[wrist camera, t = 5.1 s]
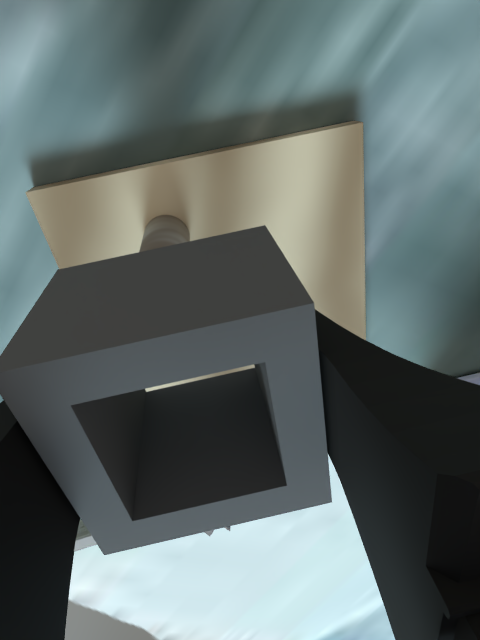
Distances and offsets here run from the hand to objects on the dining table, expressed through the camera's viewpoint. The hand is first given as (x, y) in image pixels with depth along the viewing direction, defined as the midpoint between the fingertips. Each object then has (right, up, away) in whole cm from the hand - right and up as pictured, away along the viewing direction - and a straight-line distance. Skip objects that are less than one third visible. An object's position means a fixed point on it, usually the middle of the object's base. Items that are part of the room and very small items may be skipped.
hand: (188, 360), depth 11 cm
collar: (0, +1, +1) cm, 1 cm away
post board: (+1, +3, +10) cm, 10 cm away
